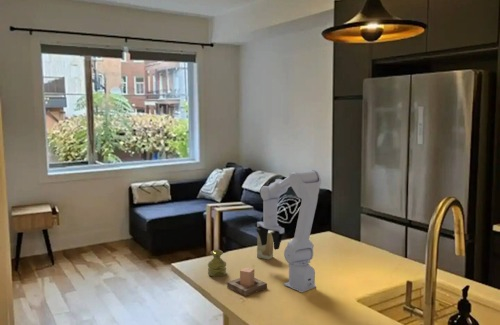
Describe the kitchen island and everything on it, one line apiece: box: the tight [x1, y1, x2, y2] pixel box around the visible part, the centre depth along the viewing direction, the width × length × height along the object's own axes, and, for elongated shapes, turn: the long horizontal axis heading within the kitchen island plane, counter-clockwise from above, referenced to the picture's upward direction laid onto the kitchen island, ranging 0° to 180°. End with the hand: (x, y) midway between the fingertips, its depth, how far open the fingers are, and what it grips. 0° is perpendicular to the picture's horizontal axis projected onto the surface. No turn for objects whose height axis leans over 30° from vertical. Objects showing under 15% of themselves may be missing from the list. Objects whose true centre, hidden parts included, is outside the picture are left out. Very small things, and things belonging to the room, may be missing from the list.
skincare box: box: [256, 230, 275, 260], centre depth 197 cm, size 6×4×12 cm
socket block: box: [226, 277, 268, 297], centre depth 164 cm, size 10×10×2 cm
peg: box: [239, 267, 255, 287], centre depth 164 cm, size 4×4×7 cm
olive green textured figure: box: [207, 248, 227, 278], centre depth 178 cm, size 7×7×10 cm
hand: (270, 246), depth 183 cm, fingers open, 7 cm apart
